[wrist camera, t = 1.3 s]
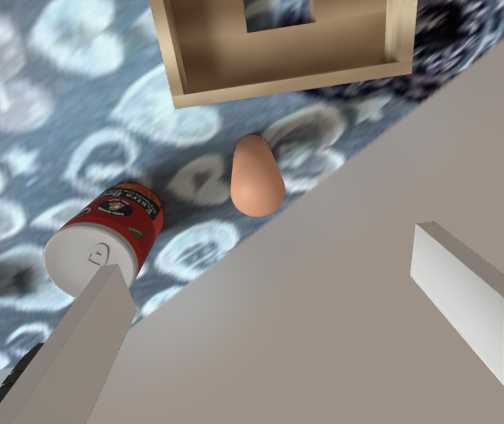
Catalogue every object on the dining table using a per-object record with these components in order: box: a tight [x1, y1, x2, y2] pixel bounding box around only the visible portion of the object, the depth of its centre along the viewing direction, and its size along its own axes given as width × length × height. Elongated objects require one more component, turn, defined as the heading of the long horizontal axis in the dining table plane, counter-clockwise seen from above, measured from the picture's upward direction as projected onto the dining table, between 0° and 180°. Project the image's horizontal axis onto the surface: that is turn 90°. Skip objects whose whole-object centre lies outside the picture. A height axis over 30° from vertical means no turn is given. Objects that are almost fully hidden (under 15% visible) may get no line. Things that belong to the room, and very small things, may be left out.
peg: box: [231, 134, 285, 217], centre depth 27 cm, size 4×4×12 cm
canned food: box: [43, 183, 164, 298], centre depth 30 cm, size 8×8×11 cm
